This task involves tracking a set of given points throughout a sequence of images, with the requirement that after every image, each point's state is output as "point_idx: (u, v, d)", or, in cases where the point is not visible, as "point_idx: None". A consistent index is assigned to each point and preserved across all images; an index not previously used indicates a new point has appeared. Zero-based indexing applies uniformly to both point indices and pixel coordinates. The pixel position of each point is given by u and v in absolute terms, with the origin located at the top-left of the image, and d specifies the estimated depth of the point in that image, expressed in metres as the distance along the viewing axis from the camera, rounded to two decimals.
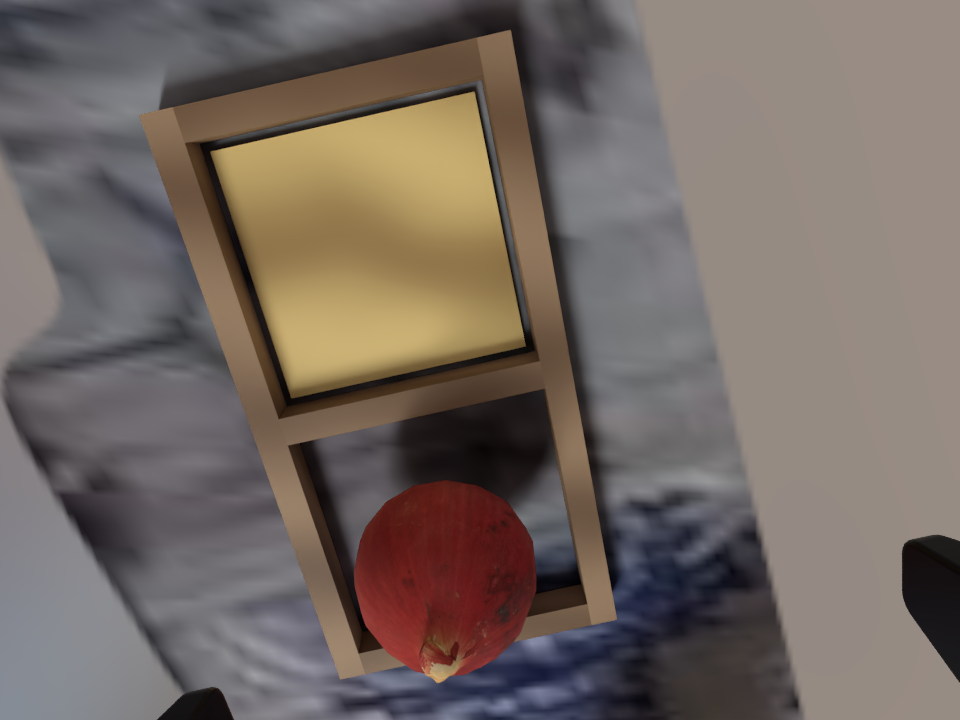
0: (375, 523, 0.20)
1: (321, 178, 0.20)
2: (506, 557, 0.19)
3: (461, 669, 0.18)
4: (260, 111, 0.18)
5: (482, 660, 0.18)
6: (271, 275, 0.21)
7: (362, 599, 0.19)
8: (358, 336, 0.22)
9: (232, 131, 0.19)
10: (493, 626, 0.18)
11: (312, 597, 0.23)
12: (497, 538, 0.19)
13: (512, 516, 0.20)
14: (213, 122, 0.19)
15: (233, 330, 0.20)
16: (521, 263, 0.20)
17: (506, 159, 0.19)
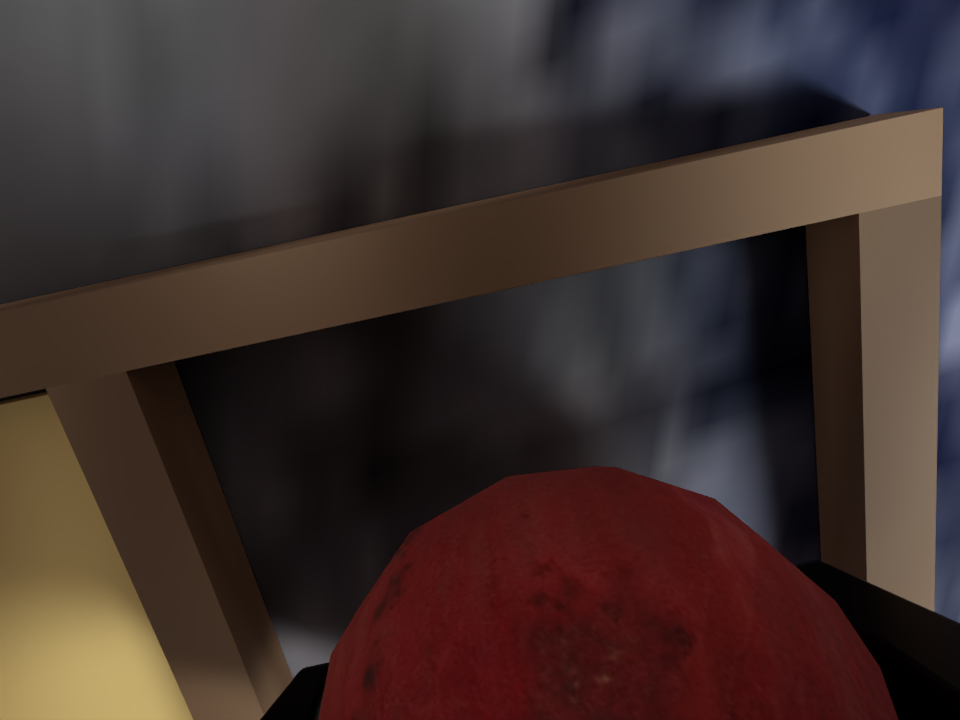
0: None
1: None
2: None
3: None
4: None
5: None
6: None
7: None
8: (112, 718, 0.10)
9: None
10: None
11: None
12: None
13: (390, 595, 0.06)
14: None
15: None
16: None
17: None
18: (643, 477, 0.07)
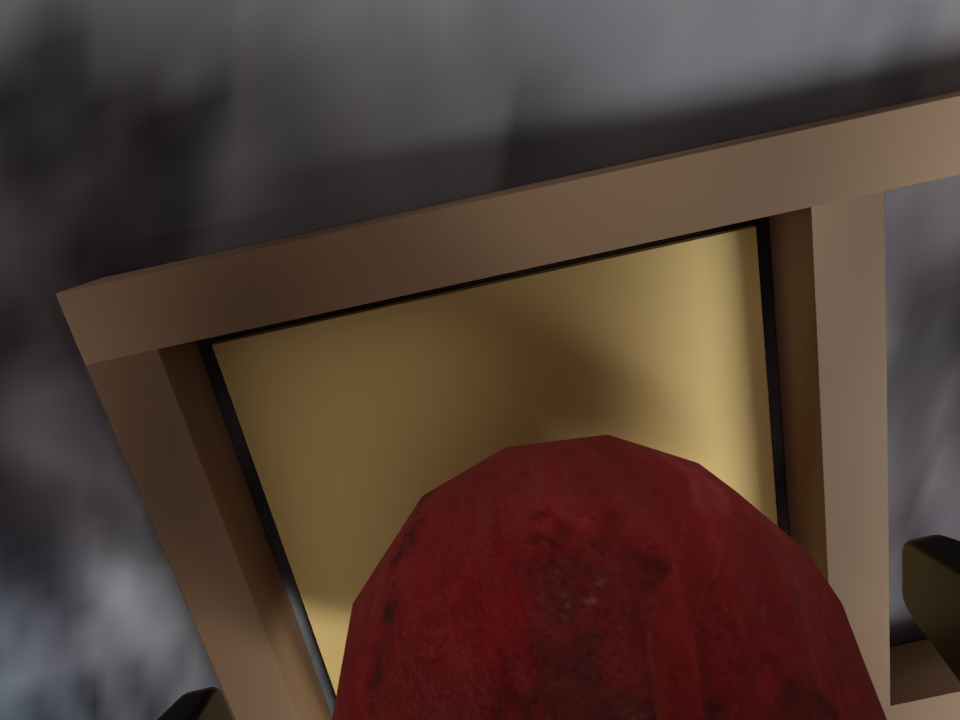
0: None
1: None
2: (445, 687, 0.05)
3: None
4: None
5: None
6: None
7: None
8: None
9: None
10: None
11: None
12: (394, 683, 0.06)
13: (406, 545, 0.07)
14: None
15: None
16: (566, 258, 0.09)
17: (330, 297, 0.09)
18: (632, 443, 0.07)
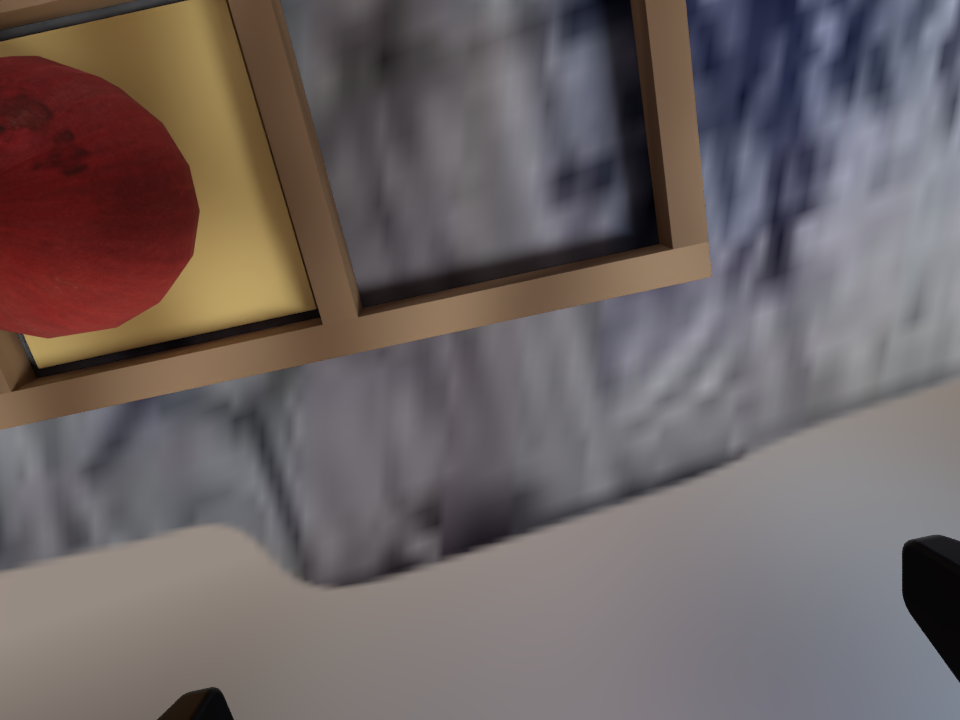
0: None
1: None
2: None
3: (1, 190, 0.11)
4: None
5: None
6: (166, 318, 0.18)
7: (21, 332, 0.13)
8: (229, 223, 0.18)
9: None
10: None
11: (576, 303, 0.18)
12: None
13: None
14: None
15: (214, 363, 0.18)
16: None
17: None
18: None
